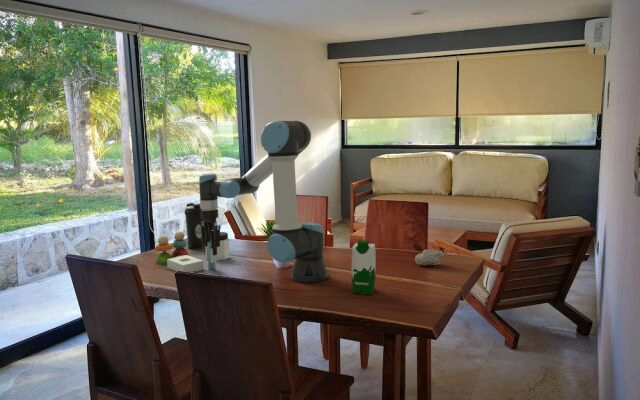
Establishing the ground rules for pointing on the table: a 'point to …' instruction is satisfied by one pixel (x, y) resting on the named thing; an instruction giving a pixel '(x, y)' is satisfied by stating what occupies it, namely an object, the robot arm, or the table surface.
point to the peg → (210, 265)
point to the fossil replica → (429, 257)
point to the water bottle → (193, 226)
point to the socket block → (185, 264)
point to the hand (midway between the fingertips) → (211, 261)
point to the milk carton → (363, 267)
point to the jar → (223, 247)
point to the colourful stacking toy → (165, 246)
